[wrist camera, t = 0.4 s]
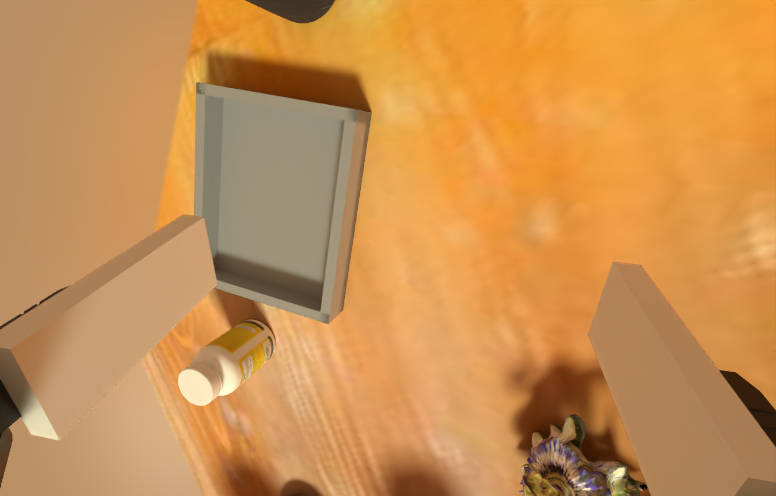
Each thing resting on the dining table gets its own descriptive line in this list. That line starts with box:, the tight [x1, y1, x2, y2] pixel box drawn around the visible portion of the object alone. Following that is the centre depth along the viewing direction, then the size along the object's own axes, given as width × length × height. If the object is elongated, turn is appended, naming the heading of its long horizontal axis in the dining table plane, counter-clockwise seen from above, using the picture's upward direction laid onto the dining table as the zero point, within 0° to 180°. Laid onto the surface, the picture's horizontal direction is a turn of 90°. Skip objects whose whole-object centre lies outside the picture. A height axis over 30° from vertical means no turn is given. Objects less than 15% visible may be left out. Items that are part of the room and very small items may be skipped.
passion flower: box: [519, 414, 648, 496], centre depth 35 cm, size 11×11×12 cm
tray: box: [194, 82, 372, 324], centre depth 40 cm, size 20×16×4 cm
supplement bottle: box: [178, 319, 275, 406], centre depth 42 cm, size 5×5×10 cm
